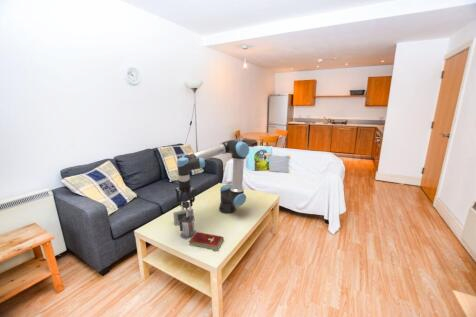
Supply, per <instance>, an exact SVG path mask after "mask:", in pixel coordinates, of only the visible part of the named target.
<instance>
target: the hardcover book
mask: <svg viewBox="0 0 476 317" xmlns="http://www.w3.org/2000/svg"><path fill="white" fill-rule="evenodd" d="M223 242H224V236H221V235H215V234H209V233H204V232H197V231H196V233H195V234H194V236H193V237H192V238H191V239H188V243H189V245H190V246H196V247H201V248H205V249H206V248H207V249H211V250H212V251H218V250H219V248H220V246H221V245H222V243H223Z"/></svg>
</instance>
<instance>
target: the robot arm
mask: <svg viewBox="0 0 476 317" xmlns="http://www.w3.org/2000/svg"><path fill="white" fill-rule="evenodd" d="M249 153H250V148H249V145H248V143H246V142H244V141H241V140H235V139H229V140H225V141H223V142H220V143H219V144H218V145H215V146H211V147H210V148H206V149H203V150H201V151H197V152H195V153H191V154H186V153H185V154H183V155H182V156H181V157H179V158H178V159H177V162H176V166H177V174H178V175H177V176H178V178H177V179H178V185H179V186H178V187H175V194H176V202H177V203H179V206H180V207H181V210H182V211H183V210H185V208H184V207H183V203H184V201H183V198H184V194H186V195H187V197H188V202H189V208H188V209H190V211H191V210H192V209H193V203H194V202H195V200H196V197H195V196H196V195H195V190H196V188H195V187H192V186H191V180H190V179H191V176H190V171H195V170H200V169H202V168H205V166H206V162H205V160H208V159H210V158H214V157H216V156H219V155H226V154H231V159H232V161H233V162H232V177H231V178H232V180H231V184H224V185H221V186H220V189H219V190H220V191H219V192H220V203H219V207H218V210H219V212H221V214H231V213H234V212H236V210H237V209H236V208H237V207H241V206H243V205H244V204H245V202H246V201H247V195H246V194H245V190H244V188H243V179H244V162H245V160H246V158H247V156H248V155H249ZM190 191H191V192H190Z"/></svg>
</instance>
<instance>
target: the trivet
mask: <svg viewBox="0 0 476 317" xmlns="http://www.w3.org/2000/svg"><path fill="white" fill-rule="evenodd" d="M196 232H197V231H196V229H194V234H195V233H196ZM193 236H194V235H193ZM193 236H192V237H193ZM192 237H184V236H183V231H181V233H180V238H182V239H184V240H190V239H191V238H192Z"/></svg>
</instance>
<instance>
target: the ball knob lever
mask: <svg viewBox="0 0 476 317" xmlns="http://www.w3.org/2000/svg"><path fill="white" fill-rule="evenodd" d="M189 202H190V201H189V200H188V201H186V200H185V201H183V207H184V209H185V210H186V217H187V219H188V209H189Z"/></svg>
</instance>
